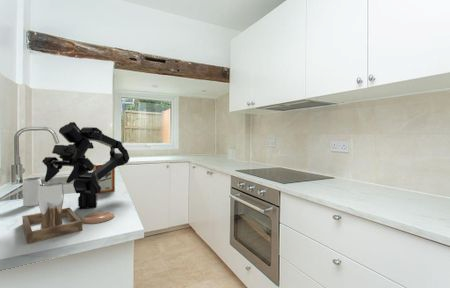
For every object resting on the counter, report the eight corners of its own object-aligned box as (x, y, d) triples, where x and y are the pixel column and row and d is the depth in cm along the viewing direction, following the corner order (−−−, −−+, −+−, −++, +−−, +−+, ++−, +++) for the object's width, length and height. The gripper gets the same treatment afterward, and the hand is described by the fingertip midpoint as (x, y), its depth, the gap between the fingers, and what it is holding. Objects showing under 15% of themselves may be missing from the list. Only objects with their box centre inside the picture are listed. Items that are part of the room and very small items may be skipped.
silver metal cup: (68, 223, 81) (68, 182, 81) (54, 231, 74) (53, 186, 74) (49, 223, 81) (48, 182, 81) (33, 231, 74) (32, 186, 74)
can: (20, 205, 101) (19, 179, 100) (37, 201, 106) (37, 176, 106) (27, 207, 98) (26, 180, 97) (44, 204, 103) (44, 178, 103)
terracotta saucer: (114, 211, 94) (114, 210, 94) (114, 220, 84) (114, 219, 84) (83, 215, 89) (83, 214, 89) (79, 225, 79) (79, 223, 79)
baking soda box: (96, 193, 122) (95, 164, 122) (93, 191, 127) (92, 163, 126) (114, 191, 129) (114, 163, 128) (111, 189, 134) (110, 162, 133)
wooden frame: (69, 214, 90) (69, 207, 90) (82, 229, 76) (82, 221, 76) (22, 224, 80) (22, 216, 80) (27, 243, 66) (27, 233, 66)
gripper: (45, 137, 90) (18, 169, 79) (87, 137, 87) (65, 170, 77) (63, 154, 98) (40, 185, 88) (102, 155, 95) (83, 187, 85)
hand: (56, 182), depth 84 cm, fingers open, 9 cm apart
